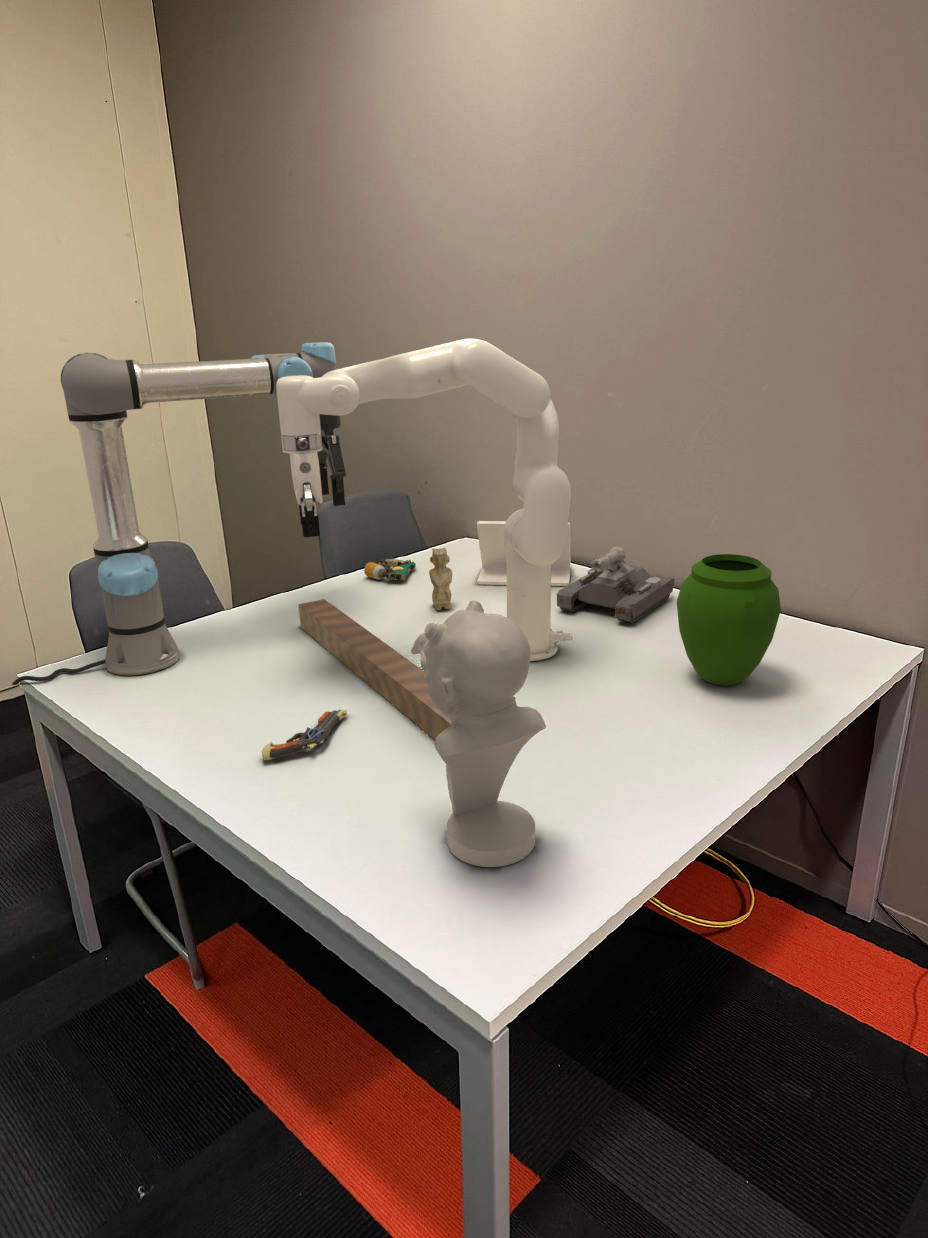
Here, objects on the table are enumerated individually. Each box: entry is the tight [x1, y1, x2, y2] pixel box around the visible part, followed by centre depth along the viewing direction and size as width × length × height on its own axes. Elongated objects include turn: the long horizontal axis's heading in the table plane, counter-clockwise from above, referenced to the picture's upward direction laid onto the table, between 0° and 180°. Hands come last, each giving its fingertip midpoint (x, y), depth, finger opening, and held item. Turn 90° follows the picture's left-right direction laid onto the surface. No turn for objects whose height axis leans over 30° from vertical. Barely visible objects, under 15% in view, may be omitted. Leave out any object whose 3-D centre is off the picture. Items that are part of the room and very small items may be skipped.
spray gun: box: [363, 558, 417, 582], centre depth 242 cm, size 4×17×15 cm
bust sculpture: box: [410, 599, 547, 868], centre depth 121 cm, size 16×24×35 cm
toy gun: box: [261, 708, 348, 761], centre depth 153 cm, size 3×19×10 cm
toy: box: [556, 546, 676, 624], centre depth 212 cm, size 25×20×15 cm
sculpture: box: [428, 547, 453, 611], centre depth 214 cm, size 6×7×15 cm
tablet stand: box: [476, 520, 572, 587], centre depth 236 cm, size 18×25×17 cm
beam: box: [297, 598, 451, 741], centre depth 177 cm, size 74×7×6 cm, turn 31°
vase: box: [676, 553, 782, 686], centre depth 168 cm, size 20×20×24 cm
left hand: (331, 499), depth 209 cm, fingers open, 13 cm apart
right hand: (310, 530), depth 169 cm, fingers open, 9 cm apart
